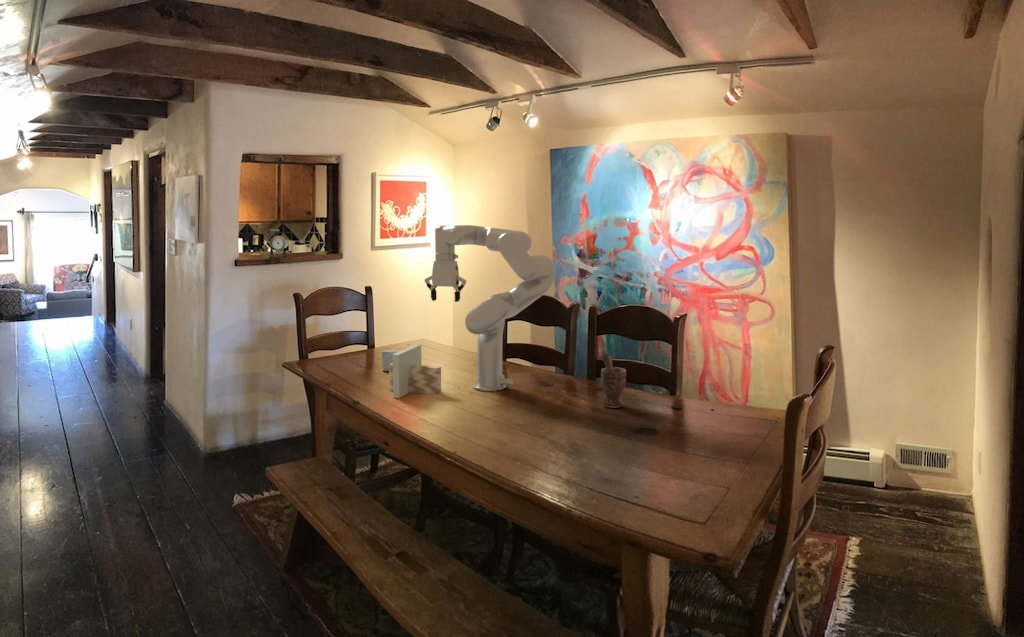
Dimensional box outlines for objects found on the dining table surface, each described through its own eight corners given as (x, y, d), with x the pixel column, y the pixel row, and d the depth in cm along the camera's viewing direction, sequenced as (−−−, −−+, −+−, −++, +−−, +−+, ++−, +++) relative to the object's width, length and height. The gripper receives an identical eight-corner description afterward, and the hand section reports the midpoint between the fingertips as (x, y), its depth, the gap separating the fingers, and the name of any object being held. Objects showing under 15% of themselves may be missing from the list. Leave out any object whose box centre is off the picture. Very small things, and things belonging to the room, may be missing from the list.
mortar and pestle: (624, 413, 225) (626, 355, 222) (598, 411, 227) (600, 354, 224) (625, 403, 236) (627, 348, 233) (601, 402, 238) (602, 347, 235)
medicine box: (403, 370, 285) (402, 350, 284) (400, 372, 281) (400, 352, 280) (385, 369, 286) (384, 349, 285) (382, 371, 282) (381, 351, 280)
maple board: (441, 392, 249) (440, 366, 248) (438, 394, 247) (438, 368, 245) (392, 388, 255) (391, 363, 253) (389, 390, 252) (389, 364, 251)
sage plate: (416, 384, 261) (415, 344, 259) (421, 384, 261) (421, 344, 258) (393, 397, 242) (392, 354, 240) (399, 398, 242) (398, 354, 239)
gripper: (469, 257, 261) (469, 300, 264) (428, 256, 266) (429, 298, 268) (462, 258, 254) (462, 303, 256) (420, 257, 259) (421, 301, 261)
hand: (445, 300), depth 262 cm, fingers open, 9 cm apart
